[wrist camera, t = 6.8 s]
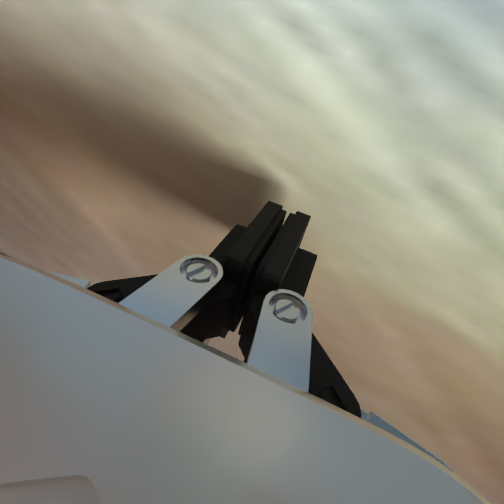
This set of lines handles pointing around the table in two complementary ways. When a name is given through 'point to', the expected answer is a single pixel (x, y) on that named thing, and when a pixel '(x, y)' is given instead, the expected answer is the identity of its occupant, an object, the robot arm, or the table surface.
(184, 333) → the robot arm
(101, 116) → the table surface
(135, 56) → the table surface
